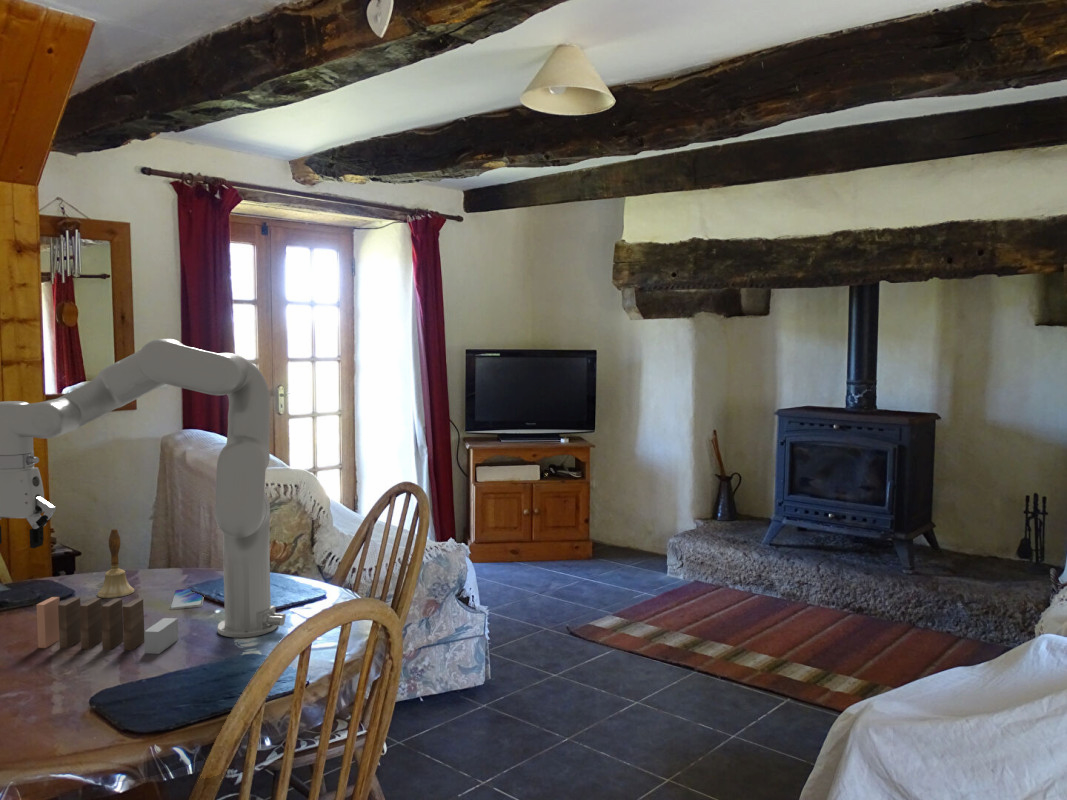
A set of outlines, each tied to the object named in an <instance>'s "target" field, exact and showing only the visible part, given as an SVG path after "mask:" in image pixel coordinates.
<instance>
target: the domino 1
mask: <svg viewBox="0 0 1067 800" xmlns="http://www.w3.org/2000/svg"><path fill="white" fill-rule="evenodd" d="M60 601H61V600H60V596H51V597H50V598H47V599H45V600H43V601H41V602H39V603H37V604H36V622H37V628H36V629H37V645H38V647H37V648H38V649H47V648H49V647H50V646H52V645H54V644H56V643H58V642H60V639H59V615H58V605H59V604H61V602H60Z"/></svg>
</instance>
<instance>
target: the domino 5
mask: <svg viewBox="0 0 1067 800" xmlns="http://www.w3.org/2000/svg"><path fill="white" fill-rule="evenodd" d="M122 607H123V636H124V641H123V649H124V651H133V650H134V649H136V648H137V647H139V646H140V645H142V644H143V643H145V642H144V631H145V615H144V612H145V611H144V599H143V598H135V599H133V600H132V601H130V602H128V603H126V604H125V605H122Z"/></svg>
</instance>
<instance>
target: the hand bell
mask: <svg viewBox="0 0 1067 800" xmlns="http://www.w3.org/2000/svg"><path fill="white" fill-rule="evenodd" d="M108 548H109V552H110V554H111V559H110V562H111V563H110V569H109V570H108V571H106V572H104V573H105V574H104V580H103V584H102V587H101V589H100V590H98V591H97V593H96V596H97V598H101V599H102V598H103V599H115V598H122V597H126V596H128V595H131V594H133V593H134V592H135V588H134V587H132V586H131V585H130V583H129V581H128V580H127V576H126V575H127V574H126V571H125V570H124V569H121V568H120V565H119V552H120V549H121V537H120V534H119V531H118V528H111V531H110V534H109V538H108Z"/></svg>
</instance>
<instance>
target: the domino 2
mask: <svg viewBox="0 0 1067 800" xmlns="http://www.w3.org/2000/svg"><path fill="white" fill-rule="evenodd" d="M80 605H81V597H71V598H70V599H67V600H65V601H63V602H62V603H61V602H60V604H59V605H58V615H59V639H60V640H59V649H66V650H67V649H70V648H71V647H72V646H74V645H76V644H78V643H80V642H81V629H80Z"/></svg>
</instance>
